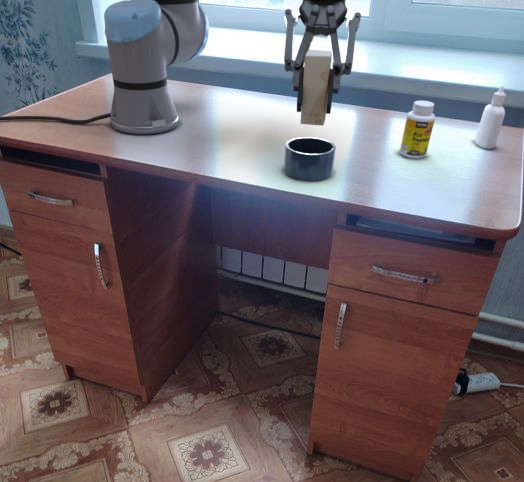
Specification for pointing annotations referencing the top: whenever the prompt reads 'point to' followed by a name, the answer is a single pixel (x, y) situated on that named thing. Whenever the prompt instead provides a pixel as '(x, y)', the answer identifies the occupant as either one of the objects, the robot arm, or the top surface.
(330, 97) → the robot arm
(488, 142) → the eye dropper bottle
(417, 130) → the supplement bottle
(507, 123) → the top surface
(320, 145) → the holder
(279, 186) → the top surface
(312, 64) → the box
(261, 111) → the top surface
